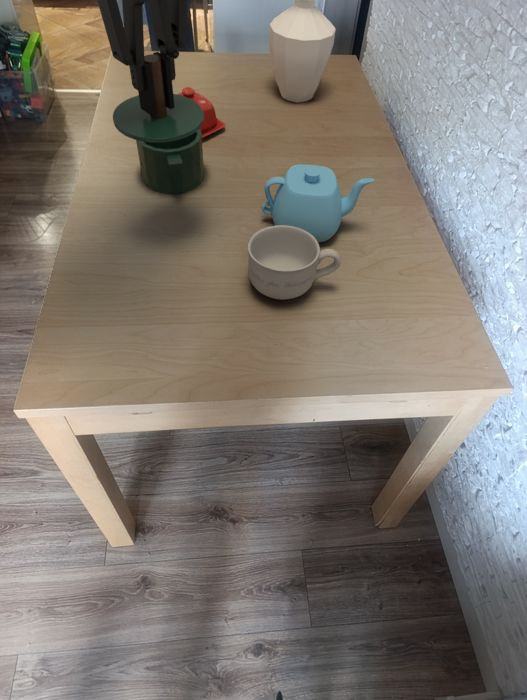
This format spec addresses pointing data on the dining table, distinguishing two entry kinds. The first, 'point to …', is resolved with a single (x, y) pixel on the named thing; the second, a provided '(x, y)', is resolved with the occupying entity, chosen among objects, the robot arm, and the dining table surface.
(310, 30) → the vase
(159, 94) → the pot lid
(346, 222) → the dining table surface
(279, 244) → the teacup
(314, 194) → the teapot
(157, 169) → the pot
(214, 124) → the butter dish
